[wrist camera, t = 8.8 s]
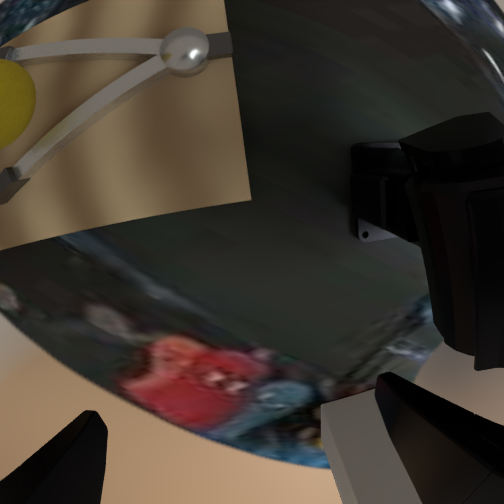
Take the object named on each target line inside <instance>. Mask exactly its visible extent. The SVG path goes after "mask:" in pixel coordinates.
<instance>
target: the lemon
mask: <svg viewBox="0 0 504 504" xmlns="http://www.w3.org/2000/svg"><path fill="white" fill-rule="evenodd" d="M35 105H36V89H35V85H34V82H33V80H32V78H31V76H30V74H29V73H28V72H27V71H26V70H25V69H24V68H23V67H22V66H20V65H19V64H17V63H15V62H13V61H10V60H6V59H0V149H2V148H4V147H6V146H8V145H10V144H11V143H13V142H14V141H15V140H16V139H17V138H18V137H19V136H20V135H21V134H22V133H23V132H24V130H25V129H26V128H27V126H28V124H29V122H30V121H31V119H32V116H33V113H34V110H35Z"/></svg>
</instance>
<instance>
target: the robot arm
mask: <svg viewBox="0 0 504 504" xmlns="http://www.w3.org/2000/svg"><path fill="white" fill-rule="evenodd" d="M398 142H399V143H357V144H354V145H353V146H352V147H351V159H352V170H353V173H352V175H351V176H350V181H351V195H352V212H353V215H354V216H356V235H357V238H358V239H359V240H361V241H362V242H369V241H376V240H382V239H388V238H394V237H400V238H402V239H404V240H406V241H408V242H411V243H413V244H415V245H417V246H419V247H421V250H422V254H423V259H424V264H425V269H426V275H427V280H428V286H429V292H430V298H431V305H432V313H433V321H434V324H435V326H436V327H437V329H438V330H439V332H440V334H441V335H442V336H443V337H444V342H445V344H447V345H448V346H450V347H451V348H453V349H454V350H456V351H459V352H461V353H464V354H467V355H470V356H475V360H474V369H475V370H477V371H481V370H487V369H492V368H504V125H503V124H502V123H501V122H500V121H499V120H498V119H497V118H495V117H494V116H493V115H492V114H491V113H489V112H485V113H477V114H470V115H464V116H458V117H455V118H452V119H450V120H447V121H444V122H442V123H439V124H437V125H434V126H432V127H429V128H427V129H424V130H422V131H419V132H417V133H415V134H412V135H410V136H407V137H405V138H402V139H400V140H398ZM357 148H360V149H361V153H360V155H359V154H358V153H357ZM364 231H366V235H365V236H364V237H362V233H363V232H364ZM375 399H376V402H377V405H378V408H379V410H380V413H381V416H382V418H383V421H384V424H385V427H386V430H387V432H388V435H389V437H390V439H391V441H392V443H393V445H394V447H395V449H396V451H397V453H398V455H399V457H400V459H401V461H402V463H403V465H404V467H405V469H406V471H407V473H408V475H409V477H410V479H411V481H412V483H413V485H414V488H415V490H416V492H417V494H418V496H419V498H420V500H421V502H422V504H504V426H503V425H500V424H497V423H495V422H492V421H490V420H488V419H486V418H483V417H481V416H479V415H477V414H475V415H474V413H473V412H470V411H468V410H466V409H464V408H462V407H460V406H458V405H456V404H454V403H452V402H450V401H448V400H446V399H444V398H441V397H439V396H437V395H435V394H433V393H431V392H429V391H427V390H425V389H423V388H421V387H419V386H418V385H416V384H414V383H412V382H410V381H408V380H406V379H404V378H402V377H400V376H398V375H396V374H394V373H392V372H386V373H383V374H380V375H378V377H377V381H376V387H375ZM107 438H108V430H107V426H106V425H105V423H104V422H103V420H102V419H101V417H100V415H99V414H98V412H96V411H91V410H86V411H84V412H83V413H81V414H80V415H79V416H78V417H77V418H75V419H74V420H73V421H72V422H71V423H70V424H68V425H67V426H66V427H65V428H64V429H62V430H61V431H60V432H59V433H58V434H57V435H55V436H54V437H53V438H52V439H51V440H50V441H48V442H47V443H46V444H45V445H44V446H42V447H41V448H40V449H39V450H38V451H37V452H35V453H34V454H33V455H32V456H31V457H30V458H28V459H27V460H26V461H25V462H23V463H22V465H21V466H19V467H18V468H16V469H15V470H14V471H13V472H11V473H10V474H9V475H8V476H6V477H5V478H4V479H2V480H1V481H0V504H100V501H101V495H102V488H103V481H104V475H105V466H106V452H107Z"/></svg>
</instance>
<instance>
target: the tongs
mask: <svg viewBox="0 0 504 504" xmlns="http://www.w3.org/2000/svg"><path fill="white" fill-rule="evenodd" d="M229 57H233V47H232V40H231V33H230V32H221V33H213V34H206V35H205V34H204V33H203V32H202V31H200V30H198V29H196V28H191V27H184V28H179V29H176V30H174V31H172V32H170V33H169V34H168V35H167V36H166V37H165V38H164V39H151V38H93V39H78V40H67V41H58V42H50V43H43V44H36V45H30V46H25V47H20V48H14V47H12V46H5V47H1V48H0V59H6V60H10V61H13V62H15V63H17V64H19V65H20V66H25V65H33V64H41V63H51V62H64V61H83V60H126V61H146V62H144V63H142V64H141V65H139V66H137V67H136V68H134V69H132V70H131V71H129V72H128V73H126V74H124V75H123V76H121V77H120V78H118V79H117V80H115V81H114V82H112V83H111V84H109V85H108V86H106V87H105V88H104V89H102V90H101V91H99V92H98V93H97V94H95V95H94V96H92V97H91V98H90V99H88V100H87V101H86V102H84V103H83V104H82V105H80V106H79V107H78V108H77V109H75V110H74V111H73V112H72V113H70V114H69V115H68V116H67V117H66V118H64V119H63V120H62V121H61V122H60V123H58V124H57V125H56V126H55V127H54V128H53V129H51V130H50V131H49V132H48V133H47V134H46V135H45V136H44V137H43V138H42V139H40V140H39V141H38V142H37V143H36V144H35V145H34V146H33V147H32V148H31V149H30V150H29V151H28V152H27V153H26V154H25V155H24V156H23V157H22V158H21V159H20V160H19V161H18V162H17V163H16V164H15V165H14V166H13V167H6V168H5V169H4V170H3V171H2V172H1V173H0V205H2V204H6V203H8V201H9V200H10V199H11V198H12V197H13V196H14V195H15V194H16V193H17V192H18V191H19V190H20V189H21V188H22V187H23V186H24V185H25V184H26V183H27V182H28V181H29V180H30V179H31V177H32V176H33V175H34V174H35V173H36V172H38V171H39V170H40V169H41V168H42V167H43V166H44V165H45V164H46V163H47V162H48V161H50V160H51V159H52V158H53V157H54V156H55V155H56V154H58V153H59V152H60V151H61V150H62V149H63V148H65V147H66V146H67V145H68V144H69V143H71V142H72V141H73V140H74V139H76V138H77V137H78V136H79V135H81V134H82V133H83V132H84V131H86V130H87V129H88V128H90V127H91V126H92V125H94V124H95V123H96V122H98V121H99V120H101V119H102V118H103V117H105V116H106V115H108V114H109V113H110V112H112V111H113V110H115V109H116V108H118V107H119V106H121V105H122V104H124V103H125V102H127V101H128V100H130V99H131V98H133V97H135V96H136V95H138V94H139V93H141V92H143V91H144V90H146V89H147V88H149V87H151V86H153V85H154V84H156V83H158V82H159V81H161V80H163V79H165V78H167V77H168V76H170V75H172V74H174V75H175V76H178V77H183V78H188V77H193V76H196V75H198V74H200V73H201V72H202V71H204V70H205V68H206V67H207V66H208V64H209V61H210V60H213V59H221V58H229Z"/></svg>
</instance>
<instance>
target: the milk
mask: <svg viewBox="0 0 504 504" xmlns="http://www.w3.org/2000/svg"><path fill="white" fill-rule="evenodd" d="M321 441H322V444H323V447H324V450H325V452H326V455H327V458H328V461H329V464H330V467H331V470H332V473H333V476H334V479H335V482H336V485H337V488H338V491H339V494H340V497H341V500H342V503H343V504H422V502H421V500H420V498H419V496H418V494H417V492H416V490H415V488H414V485H413V483H412V481H411V479H410V477H409V475H408V473H407V471H406V469H405V467H404V465H403V463H402V461H401V459H400V457H399V455H398V453H397V451H396V449H395V447H394V445H393V443H392V441H391V439H390V437H389V435H388V432H387V430H386V427H385V424H384V421H383V418H382V416H381V413H380V410H379V408H378V405H377V402H376V399H375V389H372V390H369V391H366V392H363V393H359V394H356V395H353V396H350V397H346V398H343V399H339V400H336V401H332V402H328V403H324V404H321Z"/></svg>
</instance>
